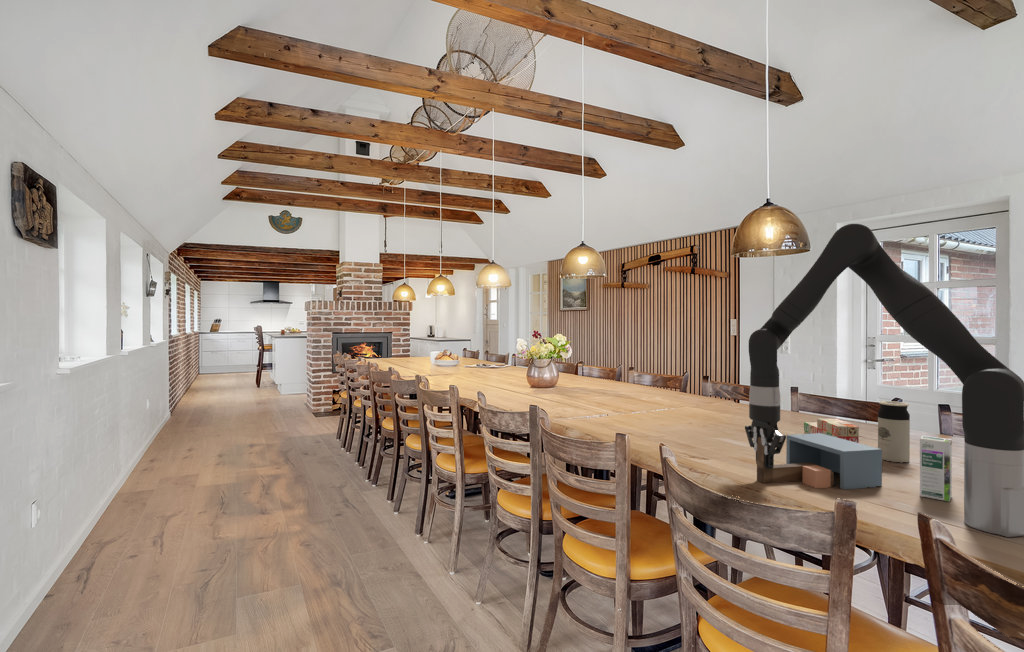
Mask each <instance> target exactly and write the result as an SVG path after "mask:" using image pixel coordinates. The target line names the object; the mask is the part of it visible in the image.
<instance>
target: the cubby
mask: <svg viewBox="0 0 1024 652" xmlns="http://www.w3.org/2000/svg"><path fill="white" fill-rule="evenodd" d="M785 454H786V456H785V457H786V463H785V464H795V463H813V464H816V465H818V466H821V467H824V468H826V469H829V470H831V472H834V473H835V474H839V489H841V490H844V491H845V490H855V489H866V488H867V487H870V488H877V487H876V486H882V487H883V460H882V449H879V448H878V447H875V446H871V445H867V444H863V443H860V442H859V443H856V442H852V441H848V440H845V439H841V438H837V437H833V436H829V435H825V434H822V433H814V434H804V433H797V434H796V433H795V434H786V453H785ZM867 489H868V488H867Z"/></svg>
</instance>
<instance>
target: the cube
mask: <svg viewBox="0 0 1024 652" xmlns="http://www.w3.org/2000/svg"><path fill="white" fill-rule="evenodd" d="M831 472H832V471H831V470H829V469H826V468H824V467H821V466H818V465H812V466H803V481H802V484H804V483H805V485H807V486H809V485H810V487H812V488H815V489H823V488H831V487H832V486H831Z"/></svg>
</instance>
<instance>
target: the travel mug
mask: <svg viewBox="0 0 1024 652" xmlns="http://www.w3.org/2000/svg"><path fill="white" fill-rule="evenodd" d="M878 404H879V406H880V408H879V409H878V411H877V448H879V449H882V461H885V460H886V462H889V461H891V462H890V463H896V462H900V463H899V464H903V462H906V463H909V462H910V459H911V457H910V452H911V451H910V450H911V449H910V444H911V443H910V437H911V435H910V432H911V431H910V430H911V429H910V427H911V423H910V421H911V420H910V416H911V415H910V413H909V411H908V407H909V406H910V405H909V403H907V402H901V401H891V400H881V401H880V400H879V402H878Z"/></svg>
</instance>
